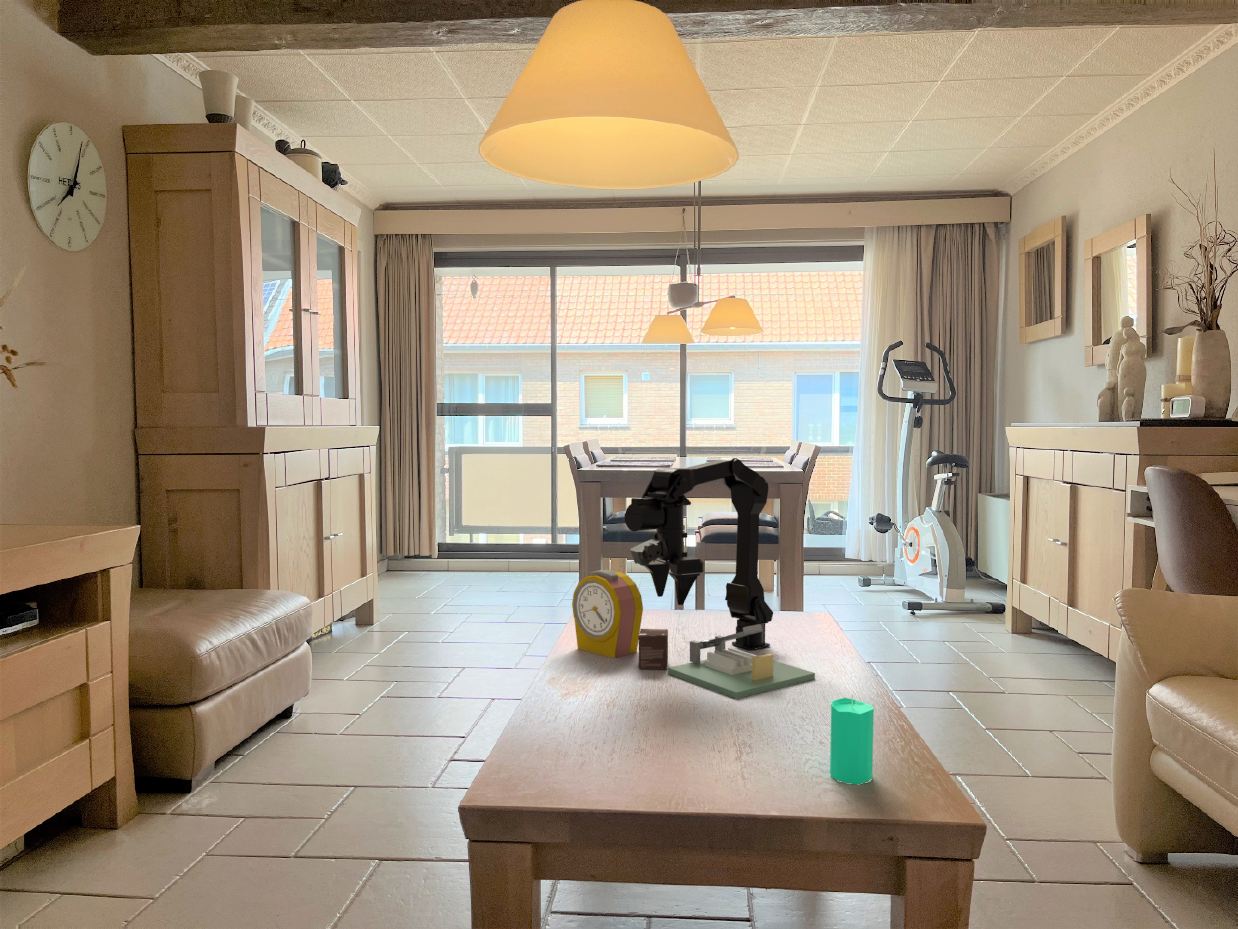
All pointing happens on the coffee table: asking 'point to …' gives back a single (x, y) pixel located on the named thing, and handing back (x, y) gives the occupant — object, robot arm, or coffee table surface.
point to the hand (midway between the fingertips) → (670, 600)
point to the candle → (851, 741)
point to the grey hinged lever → (731, 636)
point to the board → (738, 671)
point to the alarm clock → (607, 613)
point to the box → (653, 649)
